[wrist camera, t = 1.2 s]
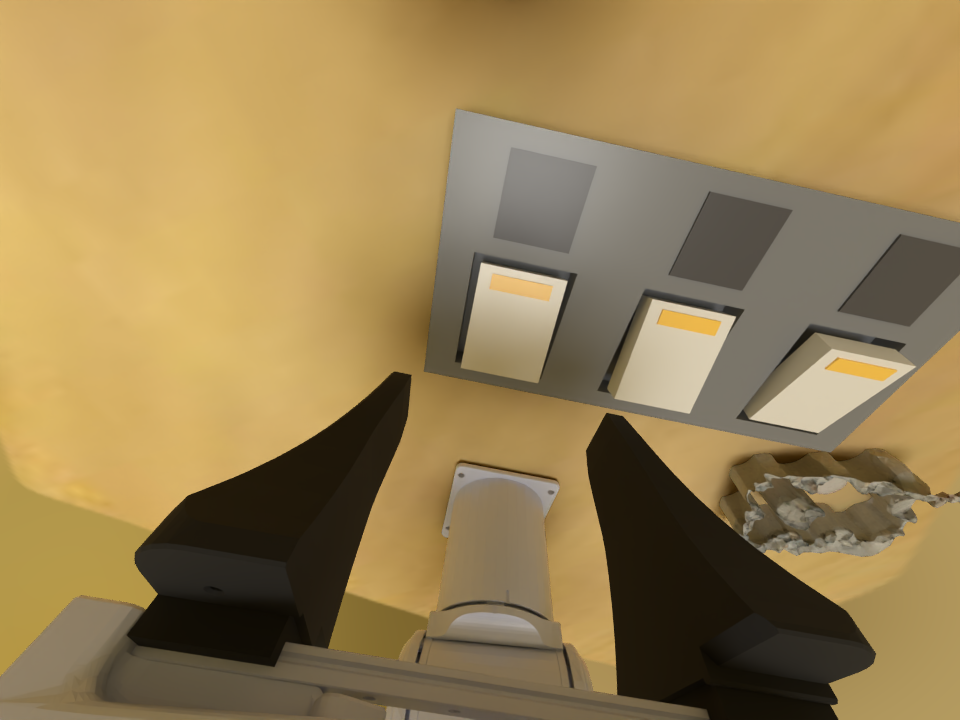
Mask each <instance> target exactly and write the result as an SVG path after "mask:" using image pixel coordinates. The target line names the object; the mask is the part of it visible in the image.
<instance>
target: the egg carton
mask: <svg viewBox="0 0 960 720" xmlns="http://www.w3.org/2000/svg"><path fill="white" fill-rule="evenodd" d="M729 476H730V478H731V480H732V481H733V482H734V484H735V485H736V487H737V489H738V490H739V491H737V492H736V493H734V494H732V495H729V496H725V497H722V498H721V500H720V503H719V506H720V507H721V509H722V510H723V512H724V514H725V516H726V517H727V519H728V520H729V522H730V524H731V526H732V528H733V530H734V531H735V532H737V533H738V534H739V535H740V536H742V537H743V538H744V539H745V540H747V541H748V542H749V543H750V544H751V545H753V546H754V547H755V548H757V549H758V550H759V551H761V552H762V553H765V552H766V550H774V551H776V552H778V553H780V552H781V551H782V550H783V549H785V550H786V551H788V552H790V553H792V554H794V555H796V556H797V555H800V554H801V553H804V552H814V553H824V552H828V551H831V552H840V553H845V554H850V555H855V556H861V557H864V556H873V555H875V554H878V553H879V552H881V551H882V550H884V549H885V548H887V547H888V546H890V545H891V543H892V542H893V540H894V538H895V537H897V536H905V534H904V532H903V527H904V525H905V524H906V523H907V522H912V523H916V522H917V517H916V514H915V513H914V512H913V510H912V509H911V506H912V504H913V503H914V502H915V500H922V501H926V502H928V503H929V504H930V505H931V506H933V507H936V508H938V507H940V506H943V505H944V504H945V503H946V502H947V501H948V502H950V503H955V502H960V492H958V493H956V494H954V495H949V494H946V493H944V492H941V493H939V494H936V495H931V493H930V487H929V486H928V485H927V484H926V483H924V482H923V481H922V480H921V479H920V478H919V477H918V476H916V475H915V474H914V473H912V472H911V471H910V470H909V469H908V468H907V466H906V465H905V464H903V463H902V462H901V461H899V460H898V459H897V458H895V457H893V456H892V455H890V454H889V453H887V452H886V451H885V450H883V449H867V450H865V451H864V452H863V453H861V454H860V455H858V456H857V457H855V458H852V459H849V460H845V461H836V460H835V459H834V458H833V457H832V456H831V455H830V454H829V453H828V452H826V451H820V452H814V453H807V454H806V455H805V456H804V457H803V458H801V459H800V460H798V461H795V462H792V463H787V464H780V463H777V462H776V461H775V459H774V458H773V456H772V455H771V454H756V455H753V456H752V457H751V459H750V460H748V461H747V462H745V463H743V464H740V465H737V466H733V467H731V469H730V472H729ZM847 481H848V482H850V483H851V484H852V485H853V486H854V488H855V489H856V490H857V491H858V492H860V493H862V494H868V493H869V494H870V495H871V496H872V497H871V498H870V500H868V501H865V502H860V503H857V504H854V505H852V506H851V507H849V508H848V509H847V510H846V511H844V512H834V511H833V510H832V509H831V508H830V507H829V506H828V505H827V504H824V503H814V502H813V501H812V499H811V498H810V497H809V496H808V495H807V494H806V493H805V492H804V490H805V491H807V492H808V493H810V494H815V493H819V494H830V493H834V492H836V491H838V490H840V489H842V488H843V487H844V486H845V485H846V484H847ZM751 491H753V492H754V491H759V492H760V494H761V495H762V496H763V498H764V499H765V500H766V502H767V503H768V504H763V505H758V504H757V502H756V501H755V499H754V498H753V496H752V495H751V494H750V492H751Z"/></svg>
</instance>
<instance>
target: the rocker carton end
mask: <svg viewBox="0 0 960 720" xmlns="http://www.w3.org/2000/svg"><path fill="white" fill-rule="evenodd" d="M915 367H916V366H915V365H914V364H913V363H911V362H910V361H909V360H908V359H906V358H905V357H904V356H903V355H902V354H900V353H899V352H898V351H897V350H895V349H891V348H887V347H882V346H877V345H872V344H868V343H863V342H858V341H853V340H849V339H844V338H839V337H835V336H830V335H825V334H820V333H816V332H815V333H814V334H813V335H812V336H811V337H810V338H809V339H808V340H806V341H805V342H804V343H803V344H802V345H801V346H800V347H799V348H798V349H797V350H796V351H794V352H793V353H792V354H791V355H790V356H789V357H788V358H787V359H786V360H785V361H784V362H783V363H781V364H780V365H779V366H778V367H777V368H776V369H775V370H774V371H773V372H772V373H771V374H770V375H769V377H768V378H767V379H766V381H765V382H764V383H763V384H762V386H761V387H760V388H759V389H758V391H757V392H756V393H755V395H754V396H753V397H752V398H751V400H750V401H749V402H748V403H747V405H746V406H745V407H744V409H743V410H744V411H745V413H746V415H747V416H748V418H749V419H751V420H756V421H761V422H766V423H771V424H776V425H781V426H786V427H791V428H796V429H801V430H806V431H811V432H816V433H819V432H820V431H822V430H823V429H825V428H826V427H828V426H829V425H831V424H832V423H834V422H835V421H837V420H838V419H840V418H841V417H843V416H844V415H846V414H847V413H849V412H850V411H852V410H853V409H855V408H856V407H857V406H859V405H860V404H862V403H863V402H865V401H866V400H868V399H869V398H871V397H872V396H874V395H875V394H877V393H878V392H880V391H881V390H883V389H884V388H886V387H887V386H889V385H890V384H892V383H893V382H894V381H896V380H897V379H899V378H900V377H902V376H903V375H905V374H906V373H908V372H909V371H911V370H912V369H914V368H915Z"/></svg>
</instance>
